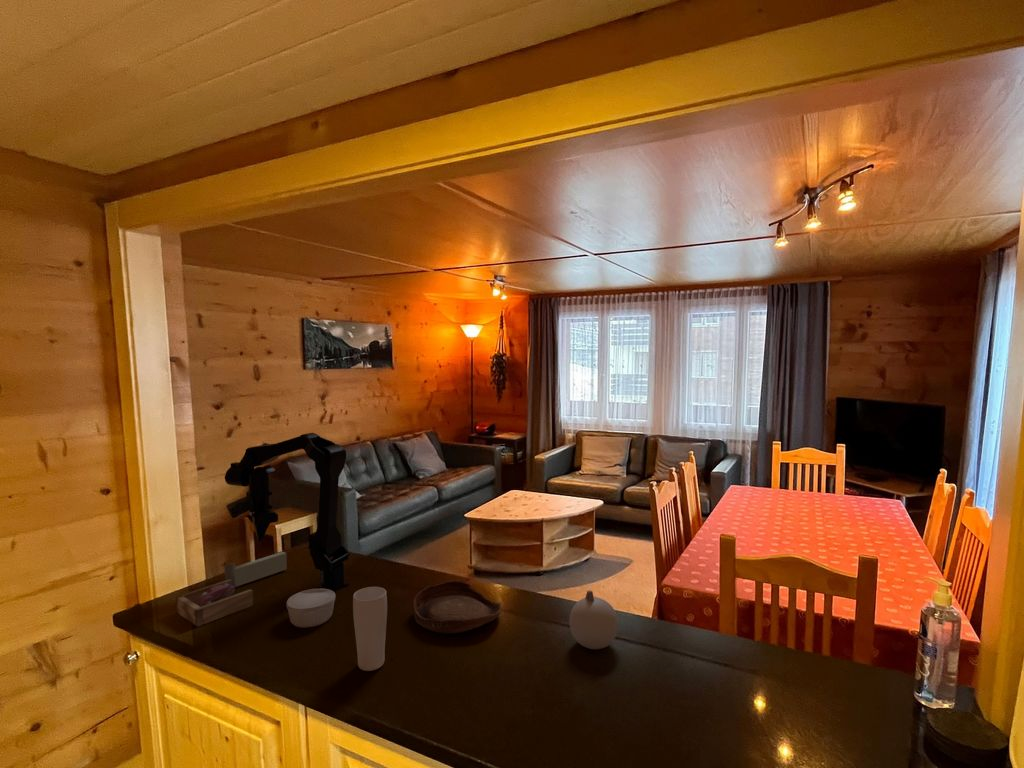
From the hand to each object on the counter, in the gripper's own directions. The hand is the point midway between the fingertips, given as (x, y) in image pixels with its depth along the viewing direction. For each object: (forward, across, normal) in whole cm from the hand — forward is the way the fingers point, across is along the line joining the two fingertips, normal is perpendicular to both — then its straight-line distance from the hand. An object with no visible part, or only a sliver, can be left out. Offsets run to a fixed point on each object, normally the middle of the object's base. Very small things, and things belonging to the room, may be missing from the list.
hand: (259, 539), depth 151 cm
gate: (+10, +3, -2) cm, 11 cm away
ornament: (+8, +89, +49) cm, 101 cm away
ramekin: (+10, +37, +4) cm, 38 cm away
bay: (+10, +16, -13) cm, 23 cm away
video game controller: (+11, +15, -14) cm, 23 cm away
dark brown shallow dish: (+10, +59, +32) cm, 68 cm away
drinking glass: (+9, +65, +8) cm, 66 cm away
